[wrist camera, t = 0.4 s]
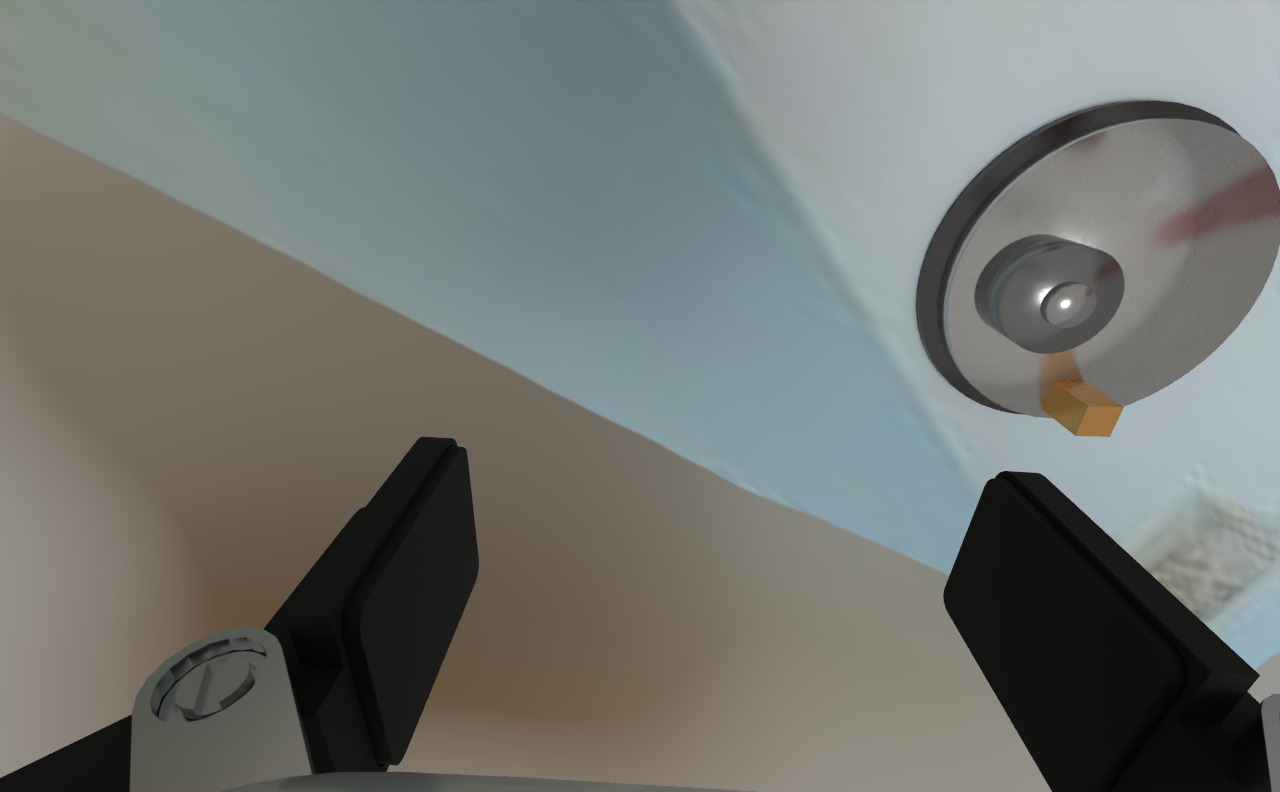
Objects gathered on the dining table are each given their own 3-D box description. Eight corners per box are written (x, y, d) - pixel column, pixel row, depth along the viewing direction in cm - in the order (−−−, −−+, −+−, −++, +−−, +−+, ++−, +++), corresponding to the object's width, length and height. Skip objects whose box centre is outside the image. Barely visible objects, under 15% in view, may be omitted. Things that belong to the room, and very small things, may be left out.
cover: (991, 233, 37) (1034, 248, 33) (1097, 235, 37) (1154, 251, 33) (962, 331, 40) (997, 357, 36) (1059, 333, 40) (1106, 360, 36)
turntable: (984, 115, 36) (1041, 116, 30) (1319, 121, 35) (1437, 122, 30) (907, 402, 45) (940, 441, 40) (1169, 409, 45) (1237, 450, 39)
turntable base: (963, 98, 36) (971, 98, 35) (1323, 103, 36) (1339, 103, 35) (887, 405, 47) (891, 410, 46) (1163, 413, 46) (1173, 419, 45)
